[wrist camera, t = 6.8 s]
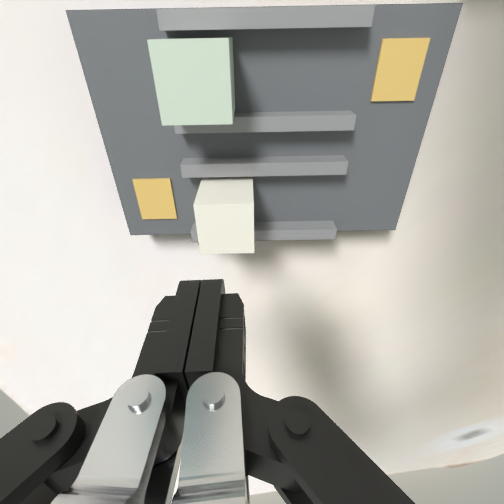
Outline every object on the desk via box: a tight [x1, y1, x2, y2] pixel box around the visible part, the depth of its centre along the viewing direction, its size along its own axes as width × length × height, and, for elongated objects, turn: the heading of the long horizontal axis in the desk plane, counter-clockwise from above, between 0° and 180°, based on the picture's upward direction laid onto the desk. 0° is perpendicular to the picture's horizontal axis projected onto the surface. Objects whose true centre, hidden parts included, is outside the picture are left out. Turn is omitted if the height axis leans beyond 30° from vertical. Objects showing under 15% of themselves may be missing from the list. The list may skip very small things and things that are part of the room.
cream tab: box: [193, 176, 254, 254], centre depth 23 cm, size 4×4×5 cm
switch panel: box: [66, 3, 463, 242], centre depth 24 cm, size 16×24×4 cm, turn 91°
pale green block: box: [147, 38, 235, 126], centre depth 18 cm, size 4×4×5 cm
